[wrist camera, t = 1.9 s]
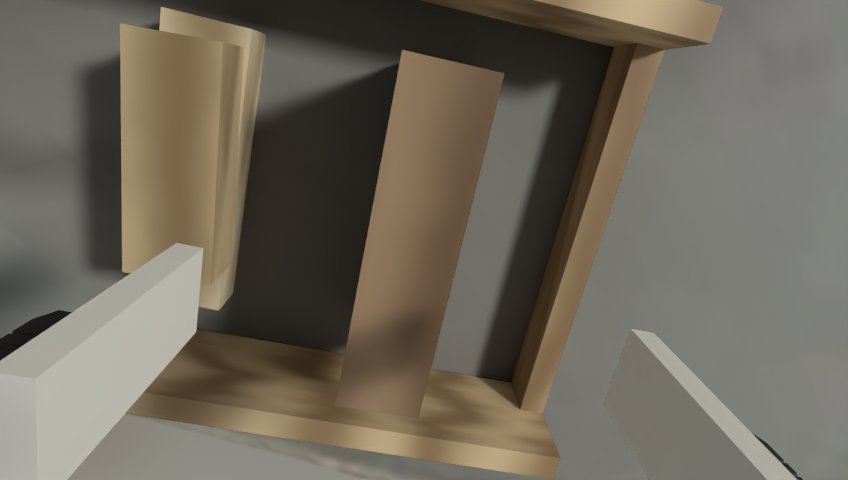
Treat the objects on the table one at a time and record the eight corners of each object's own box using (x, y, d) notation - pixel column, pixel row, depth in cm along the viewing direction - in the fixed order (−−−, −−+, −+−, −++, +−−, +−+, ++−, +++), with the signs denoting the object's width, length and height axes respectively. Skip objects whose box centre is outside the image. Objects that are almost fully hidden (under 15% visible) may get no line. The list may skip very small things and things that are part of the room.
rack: (135, 338, 33) (65, 404, 26) (155, -97, 25) (64, -162, 18) (525, 403, 35) (552, 479, 28) (647, 25, 28) (723, 7, 21)
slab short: (151, 253, 28) (122, 271, 25) (153, 30, 25) (120, 23, 22) (230, 265, 29) (211, 285, 26) (244, 47, 25) (223, 42, 22)
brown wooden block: (356, 311, 33) (335, 405, 23) (404, 61, 28) (402, 49, 18) (415, 322, 33) (418, 418, 23) (472, 76, 28) (504, 73, 19)
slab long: (165, 276, 32) (141, 295, 29) (187, 14, 27) (160, 6, 24) (235, 290, 32) (218, 310, 29) (268, 34, 28) (252, 29, 25)
